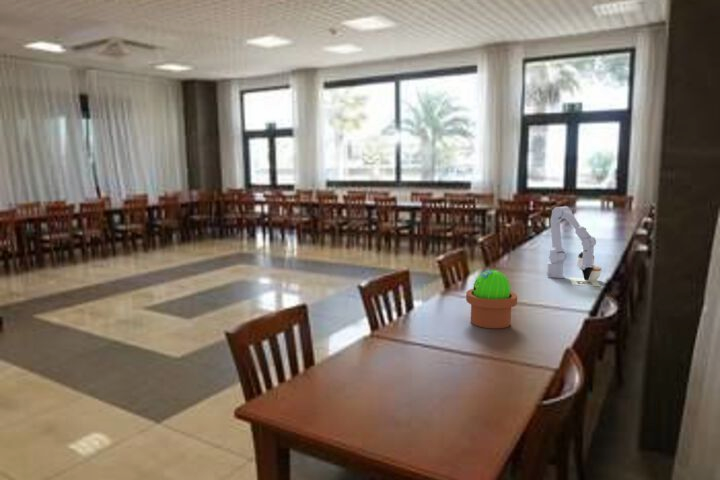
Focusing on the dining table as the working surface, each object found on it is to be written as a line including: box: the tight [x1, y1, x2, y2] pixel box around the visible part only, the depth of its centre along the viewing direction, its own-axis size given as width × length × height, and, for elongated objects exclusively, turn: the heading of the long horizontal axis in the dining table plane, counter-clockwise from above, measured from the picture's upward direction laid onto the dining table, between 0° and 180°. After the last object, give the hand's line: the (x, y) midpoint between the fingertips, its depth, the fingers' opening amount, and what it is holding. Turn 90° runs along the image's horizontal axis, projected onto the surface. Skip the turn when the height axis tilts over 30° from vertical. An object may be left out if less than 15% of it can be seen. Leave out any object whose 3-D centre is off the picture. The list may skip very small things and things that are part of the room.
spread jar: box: [576, 249, 595, 269], centre depth 358 cm, size 12×11×12 cm
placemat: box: [568, 277, 602, 287], centre depth 317 cm, size 15×19×1 cm
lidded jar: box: [582, 266, 602, 281], centre depth 320 cm, size 11×11×9 cm
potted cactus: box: [465, 268, 518, 330], centre depth 237 cm, size 22×22×25 cm
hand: (586, 279), depth 316 cm, fingers closed
